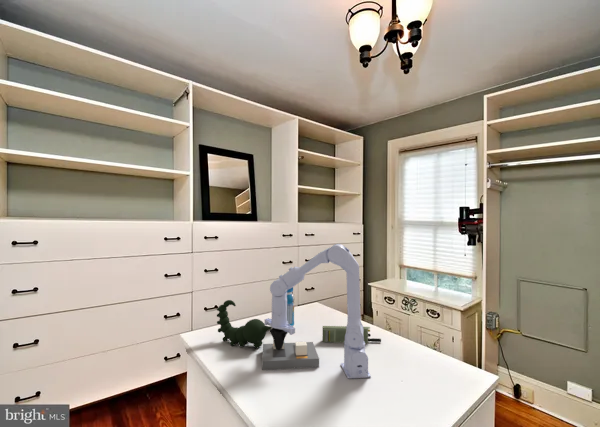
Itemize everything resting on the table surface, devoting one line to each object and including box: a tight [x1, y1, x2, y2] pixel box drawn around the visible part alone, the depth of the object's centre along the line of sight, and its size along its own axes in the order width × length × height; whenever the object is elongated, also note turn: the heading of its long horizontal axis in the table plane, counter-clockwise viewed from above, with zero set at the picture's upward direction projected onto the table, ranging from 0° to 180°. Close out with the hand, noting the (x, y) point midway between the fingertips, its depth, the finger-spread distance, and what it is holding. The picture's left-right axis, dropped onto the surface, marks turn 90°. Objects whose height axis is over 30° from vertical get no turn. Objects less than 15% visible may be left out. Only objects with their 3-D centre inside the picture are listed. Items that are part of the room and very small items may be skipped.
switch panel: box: [261, 341, 320, 371], centre depth 106 cm, size 14×20×3 cm
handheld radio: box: [322, 325, 382, 344], centre depth 122 cm, size 7×3×25 cm
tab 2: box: [294, 341, 307, 356], centre depth 104 cm, size 3×4×4 cm
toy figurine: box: [216, 299, 272, 349], centre depth 118 cm, size 9×19×25 cm
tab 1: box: [272, 340, 285, 349], centre depth 108 cm, size 3×4×4 cm
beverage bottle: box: [287, 287, 296, 327], centre depth 140 cm, size 8×8×20 cm
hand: (278, 348), depth 105 cm, fingers closed
